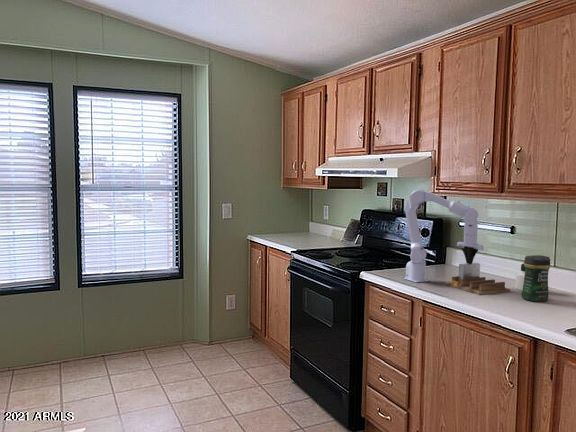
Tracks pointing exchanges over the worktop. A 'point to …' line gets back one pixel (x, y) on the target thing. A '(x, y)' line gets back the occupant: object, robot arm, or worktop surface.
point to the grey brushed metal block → (468, 271)
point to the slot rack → (478, 285)
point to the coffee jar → (536, 278)
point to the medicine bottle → (520, 278)
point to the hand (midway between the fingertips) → (469, 263)
